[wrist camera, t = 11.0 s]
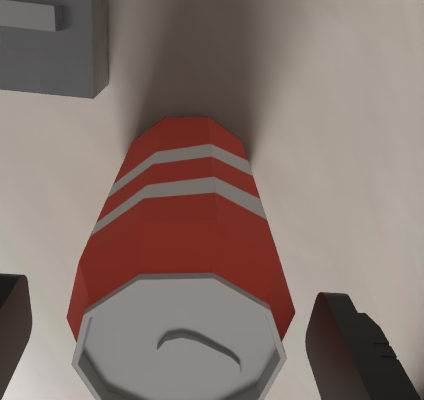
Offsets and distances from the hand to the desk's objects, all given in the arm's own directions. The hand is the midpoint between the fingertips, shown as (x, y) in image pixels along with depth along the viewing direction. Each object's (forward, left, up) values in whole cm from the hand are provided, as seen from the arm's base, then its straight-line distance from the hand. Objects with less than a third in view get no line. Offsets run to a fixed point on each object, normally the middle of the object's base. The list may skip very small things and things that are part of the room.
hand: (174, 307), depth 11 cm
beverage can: (0, 0, -11) cm, 11 cm away
